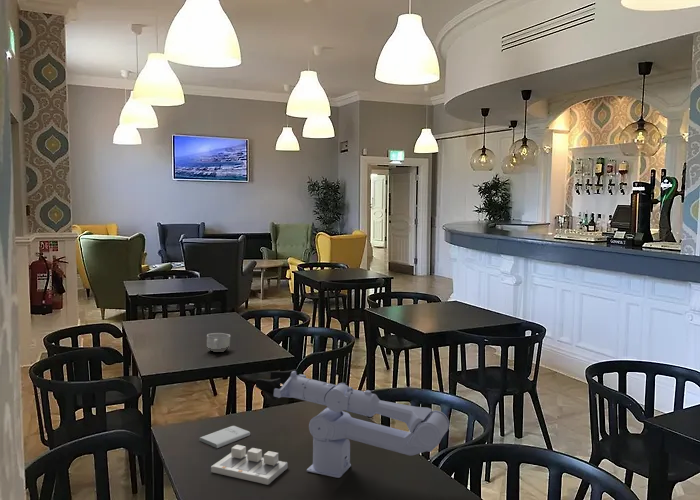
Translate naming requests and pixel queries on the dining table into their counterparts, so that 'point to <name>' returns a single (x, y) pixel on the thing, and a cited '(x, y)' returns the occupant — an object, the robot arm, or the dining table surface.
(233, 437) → the external hard drive
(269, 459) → the switch tab near
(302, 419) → the dining table surface
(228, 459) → the panel
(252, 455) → the switch tab mid
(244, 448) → the switch tab far
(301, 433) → the dining table surface
